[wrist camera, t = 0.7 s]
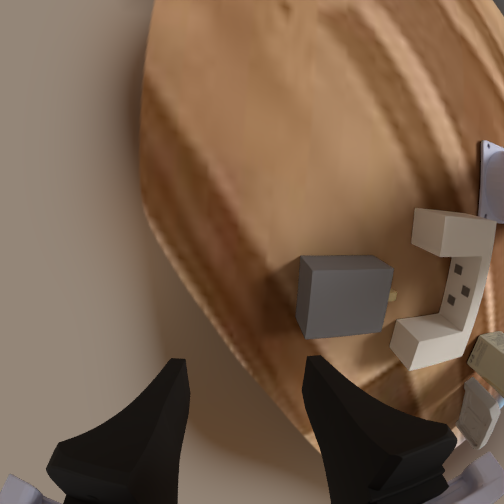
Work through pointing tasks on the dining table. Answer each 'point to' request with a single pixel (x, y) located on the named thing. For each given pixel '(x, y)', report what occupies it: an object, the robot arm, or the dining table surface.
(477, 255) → the socket block
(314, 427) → the robot arm
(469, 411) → the light switch
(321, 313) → the plug
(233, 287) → the dining table surface
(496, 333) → the skincare box
